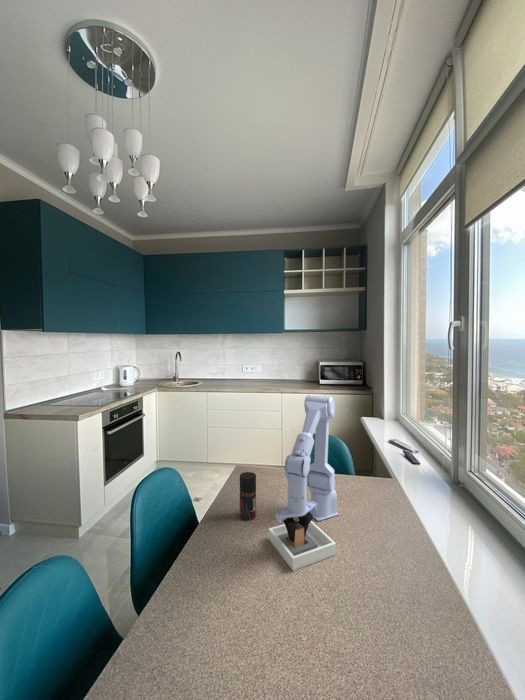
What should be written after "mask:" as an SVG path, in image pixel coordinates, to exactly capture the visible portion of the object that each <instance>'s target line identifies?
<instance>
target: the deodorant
mask: <svg viewBox="0 0 525 700" xmlns="http://www.w3.org/2000/svg"><path fill="white" fill-rule="evenodd" d="M256 518H257V474H256V473H254V472H253V471H252V472H251V471H244V472H242V473H240V474H239V519H240V520H242V521H245V522H249V521H250V522H251V521H253V520H255V519H256Z"/></svg>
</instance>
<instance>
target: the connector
mask: <svg viewBox="0 0 525 700" xmlns="http://www.w3.org/2000/svg"><path fill="white" fill-rule="evenodd" d="M294 521H295V522H297V526H296V530H295V541H294V542H292V541H291V540H290V539H289V536H288V541H289V542H290V544H291V545H292V546H293V547H294V548H296V547H298V546H301V545H304V527H303V526H301V525H300V524H299V521H298V519H297V520H296V519H294Z"/></svg>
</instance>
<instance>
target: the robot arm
mask: <svg viewBox="0 0 525 700" xmlns="http://www.w3.org/2000/svg"><path fill="white" fill-rule="evenodd" d="M303 405H304V412H305V418H304V423H303V427H302V432H300V433H298V434H297V436H296V439H295V442H294V445H293V448H292V451H291V453H290V454H289V455H287V456H286V459H285V461H284V467H283V468H284V472H285V476H286V477H285V478H286V479H287V506H285V508H283V509H281V510H280V511H279V512H276V513H275V521H276V522H277V523H278V524H281V523H283V524H285V526H286V529H287V532H288V536H289V539H290V540H291V541H292V542H294V541H295V530H296V526H297V522H295V521H294V520H295V518H298V519H297V520H299V524H300V525H301V526H303V527H304V538H305V535H306V531H307V528H308V525H309V523H310V521H312V520H313V519H314V520H316V521H317V522H320V521H323V520H327V519H330V518H333V517H337V516H339V512H338V495H337V492H336V489H335V486H336V476H335V469H334V467H332V466H331V464H329V463H328V458H329V456H328V455H329V434H330V433H329V432H330V421H331V420H332V419H334V418H335V410H336V409H335V408H336V407H335V405H336V404H335V399H334V398H333V397H332V396H320V395H310V394H307V395H306V396H305V398H304V402H303ZM314 433H315V434H314ZM314 435H315V439H314V438H313V436H314ZM313 448H314V457H313V458H314V459H313V462H312V463H311V459H312V458H311V453H312V452H313V451H312V450H313ZM307 487H308V488H307ZM307 489H309V491H310V501H307V500H308V499H307V494H308V493H307Z"/></svg>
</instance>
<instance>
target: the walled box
mask: <svg viewBox="0 0 525 700" xmlns="http://www.w3.org/2000/svg"><path fill="white" fill-rule="evenodd" d="M297 520H298V519H297ZM298 521H299V520H298ZM285 533H288V532H287V529H286V526H285V524H284V523H282V524H280V525H276V526H274V527H270V528H268V541H270V543H271V544H272V546H273V547H274V549H275V550H276V551H277V552H278V554H279V555H280V556H281V558H282V559H283V560H284V561H285V563H286V564H287V565H288V567H289V568H290V569H291V570H292V572H294V571H298V570H300V569H302V568H305V567H307V566H310V565H311V566H312V565H313V564H315V563H316V564H317V563H319V562H322V561H323V560H327V559H329V558H332V557H335V556H337V543H336V542H335V540H333V539H332V537H330V536H329V535H328V534H327V533H325V531H323V530H322V529H321V528H320V527H319V526H318V525H317V524H316V523H315V522H313V521H312V520H311V521H310V523H309V525H308V528H307V531H306V534H307V535H308V536H309V537H310V538H311V539H312V540H313V541H314V542H315V543H316V544H317V545H318V548H315V549H313V550H310V551H307V552H304V553H301V554H298V555H296V556H294V555H293V554H292V553H291V552H290V551H289V549H288V548H287V547H286V546H285V545H284V543H283V542H282V541H281V540H280V538H279V537H278V535H282V534H285Z"/></svg>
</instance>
